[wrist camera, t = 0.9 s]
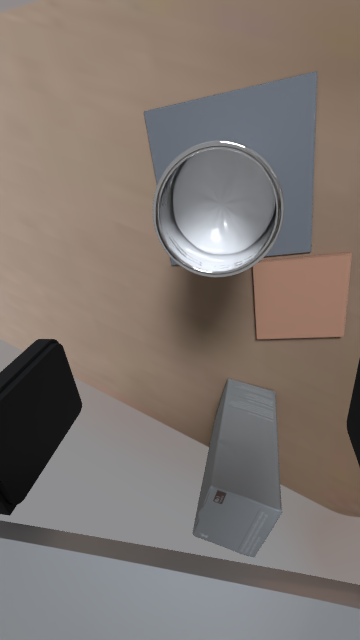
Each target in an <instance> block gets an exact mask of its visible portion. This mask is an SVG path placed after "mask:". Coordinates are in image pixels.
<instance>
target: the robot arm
mask: <svg viewBox="0 0 360 640" xmlns="http://www.w3.org/2000/svg"><path fill="white" fill-rule="evenodd" d="M81 408H82V402H81V399H80V396H79V393H78V390H77V387H76V384H75V381H74V378H73V375H72V372H71V369H70V366H69V363H68V360H67V357H66V354H65V351H64V348H63V346H62V345H61V344H59V343H58V341H57V340H55V339H38V340H36V341H35V342H34V343H33V344H32V345H31V346H29V347H28V348H27V349H26V350H25V351H24V352H23V353H22V354H21V355H19V356H18V357H17V358H16V359H15V360H14V361H13V362H12V363H10V365H8V366H7V367H6V368H5V369H4V370H3V371H1V372H0V514H4V515H10V514H11V513H12V511H13V510H14V509H15V507H16V505H17V504H19V503H21V502H22V501H23V500H24V499H25V497H26V496H27V494H28V492H29V491H30V489H31V488H32V486H33V485H34V483H35V481H36V480H37V479H38V477H39V475H40V474H41V472H42V471H43V469H44V468H45V466H46V465H47V463H48V461H49V460H50V458H51V457H52V455H53V454H54V452H55V451H56V449H57V447H58V446H59V444H60V443H61V441H62V440H63V438H64V437H65V435H66V434H67V432H68V430H69V429H70V427H71V426H72V424H73V423H74V421H75V420H76V418H77V417H78V415H79V413H80V411H81ZM347 430H348V434H349V437H350V440H351V443H352V446H353V449H354V452H355V454H356V457H357V460H358V463H359V466H360V360H359V365H358V369H357V374H356V379H355V384H354V389H353V394H352V398H351V403H350V408H349V413H348V418H347ZM0 640H360V585H357V584H352V583H347V582H341V581H337V580H332V579H326V578H321V577H316V576H311V575H306V574H301V573H296V572H290V571H284V570H279V569H273V568H267V567H262V566H257V565H251V564H246V563H240V562H234V561H229V560H223V559H218V558H212V557H207V556H201V555H195V554H190V553H184V552H179V551H173V550H168V549H162V548H156V547H151V546H145V545H139V544H133V543H127V542H122V541H116V540H110V539H104V538H99V537H93V536H88V535H82V534H76V533H70V532H65V531H59V530H53V529H47V528H41V527H35V526H29V525H23V524H17V523H11V522H5V521H0Z"/></svg>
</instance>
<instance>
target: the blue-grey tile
mask: <svg viewBox="0 0 360 640" xmlns="http://www.w3.org/2000/svg"><path fill="white" fill-rule="evenodd" d="M316 88H317V71H316V72H312V73H308V74H303V75H299V76H295V77H290V78H286V79H282V80H277V81H273V82H269V83H265V84H260V85H256V86H252V87H247V88H243V89H239V90H235V91H230V92H226V93H222V94H217V95H213V96H209V97H204V98H200V99H196V100H192V101H187V102H183V103H179V104H174V105H170V106H166V107H162V108H157V109H153V110H149V111H144V115H145V120H146V126H147V132H148V137H149V143H150V148H151V154H152V159H153V165H154V170H155V176H156V181H157V185H158V182H159V180H160V178H161V176H162V174H163V173H164V171H165V170H166V168H167V167H168V166H169V164H170V163H171V162H172V161H173V160H174V159H175V158H176V157H177V156H178V155H180V154H181V153H182V152H184V151H185V150H187V149H189V148H191V147H193V146H195V145H198V144H200V143H202V142H204V141H207V140H211V139H216V138H236V139H241V140H244V141H247V142H249V143H251V144H253V145H254V146H256V147H258V148H259V149H260V150H261V151H263V152H264V153H265V154H266V156H267V157H268V158H269V159H270V161H271V162H272V164H273V165H274V167H275V169H276V171H277V173H278V176H279V178H280V182H281V186H282V193H283V199H284V216H283V222H282V226H281V229H280V232H279V235H278V237H277V239H276V241H275V243H274V245H273V246H272V248H271V249H270V250H269V252H268V253H267V254H266V255H265V256H273V255H284V254H294V253H304V252H311V234H312V205H313V176H314V146H315V117H316ZM170 259H171V264H172V265H179V264H177V263H176V262H175V261H174V260H173V259H172V258H171V257H170Z"/></svg>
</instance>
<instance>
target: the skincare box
mask: <svg viewBox="0 0 360 640" xmlns="http://www.w3.org/2000/svg"><path fill="white" fill-rule="evenodd" d="M281 513H282V509H281V491H280V474H279V454H278V434H277V415H276V395H275V392H274V391H271V390H268V389H264V388H260V387H257V386H253V385H250V384H247V383H243V382H240V381H236V380H232V379H228V380H227V382H226V385H225V388H224V391H223V394H222V397H221V401H220V404H219V407H218V411H217V414H216V418H215V421H214V426H213V432H212V437H211V442H210V446H209V452H208V457H207V462H206V467H205V472H204V477H203V483H202V487H201V492H200V497H199V502H198V508H197V513H196V518H195V524H194V529H193V535H194V536H196V537H198V538H201V539H204V540H207V541H209V542H212V543H215V544H217V545H220V546H223V547H225V548H228V549H230V550H233V551H235V552H238V553H240V554H243V555H246V556H250V557H255V555H256V554H257V552H258V551H259V549H260V547H261V546H262V544H263V543H264V541H265V540H266V538H267V537H268V535H269V533H270V532H271V530H272V528H273V527H274V525H275V523H276V522H277V520H278V518H279V516H280V515H281Z"/></svg>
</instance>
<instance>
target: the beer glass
mask: <svg viewBox="0 0 360 640" xmlns="http://www.w3.org/2000/svg"><path fill="white" fill-rule="evenodd" d="M283 216H284V199H283V193H282V186H281V182H280V178H279V176H278V173H277V171H276V169H275V167H274V165H273V164H272V162H271V161H270V159H269V158H268V157H267V156H266V154H265V153H264V152H263V151H261V150H260V149H259V148H258V147H256V146H254V145H253V144H251V143H249V142H247V141H244V140H241V139H236V138H216V139H211V140H207V141H204V142H202V143H200V144H198V145H195V146H193V147H191V148H189V149H187V150H185V151H184V152H182V153H181V154H180V155H178V156H177V157H176V158H175V159H174V160H173V161H172V162H171V163H170V164H169V166H168V167H167V168H166V170H165V171H164V173H163V174H162V176H161V178H160V180H159V182H158V185H157V187H156V191H155V194H154V200H153V222H154V227H155V231H156V234H157V236H158V239H159V241H160V243H161V245H162V246H163V248H164V250H165V251H166V252H167V254H168V255H169V256H170V257H171V258H172V259H173V260H174V261H175V262H176V263H177V264H179V265H180V266H181V267H183V268H185V269H186V270H188V271H190V272H192V273H195V274H198V275H201V276H206V277H227V276H232V275H236V274H239V273H241V272H243V271H246V270H247V269H249V268H251V267H252V266H254V265H255V264H257V263H258V262H259V261H260V260H261V259H262V258H263V257H264V256H265V255H266V254H267V253H268V252H269V250H270V249H271V248H272V246H273V245H274V243H275V241H276V239H277V237H278V235H279V232H280V229H281V226H282V222H283Z"/></svg>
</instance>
